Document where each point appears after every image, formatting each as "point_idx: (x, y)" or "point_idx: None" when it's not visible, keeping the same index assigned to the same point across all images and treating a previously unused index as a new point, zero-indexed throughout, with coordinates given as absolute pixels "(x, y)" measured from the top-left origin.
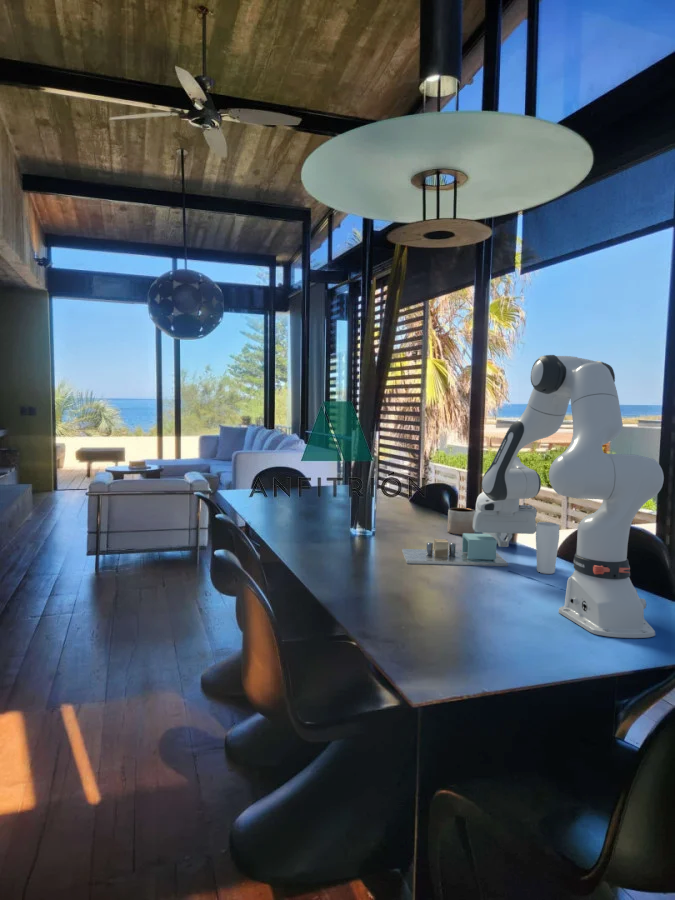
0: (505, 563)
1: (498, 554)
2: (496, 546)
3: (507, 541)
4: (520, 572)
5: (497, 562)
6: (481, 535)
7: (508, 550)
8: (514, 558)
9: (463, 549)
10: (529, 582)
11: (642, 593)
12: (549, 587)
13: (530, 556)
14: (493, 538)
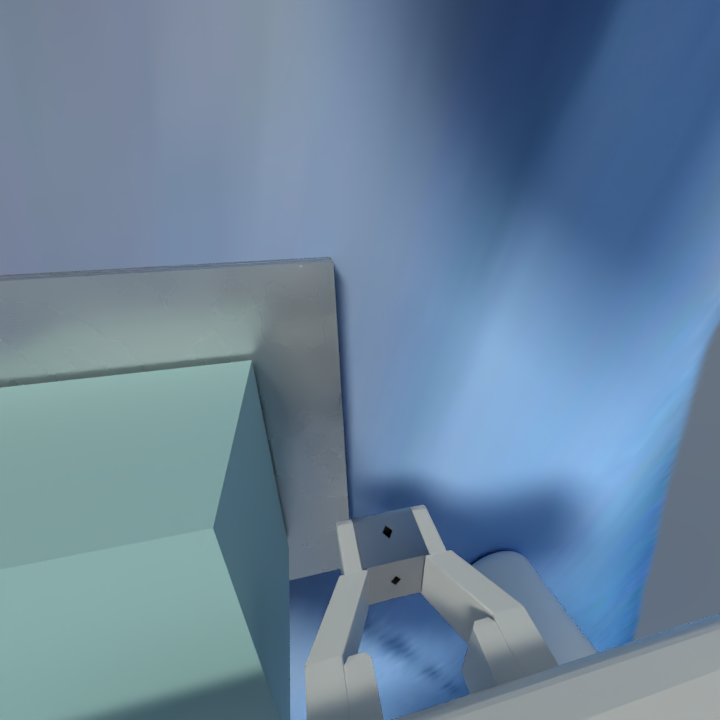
0: (338, 566)
1: (339, 381)
2: (289, 663)
3: (428, 591)
4: (382, 605)
5: (292, 574)
6: (56, 669)
7: (530, 6)
8: (452, 368)
9: None
10: (375, 678)
11: (627, 635)
12: (420, 687)
13: (597, 279)
14: (262, 715)
